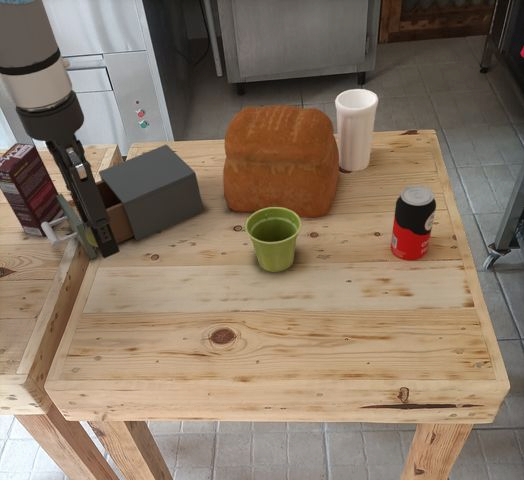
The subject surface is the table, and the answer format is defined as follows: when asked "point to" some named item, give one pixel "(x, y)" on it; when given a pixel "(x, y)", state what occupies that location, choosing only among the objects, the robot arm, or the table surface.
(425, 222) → the beverage can
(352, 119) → the cup
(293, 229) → the plant pot
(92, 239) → the green rock
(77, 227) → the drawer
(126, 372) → the table surface
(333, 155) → the bread
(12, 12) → the robot arm
